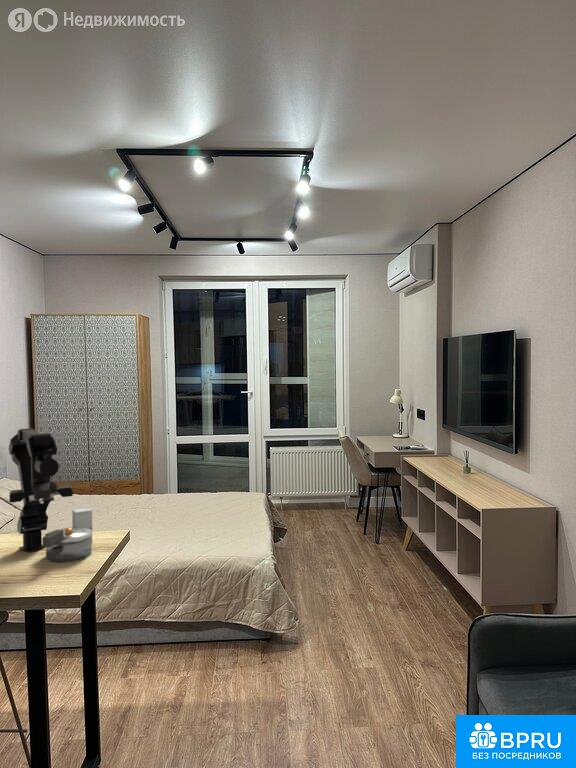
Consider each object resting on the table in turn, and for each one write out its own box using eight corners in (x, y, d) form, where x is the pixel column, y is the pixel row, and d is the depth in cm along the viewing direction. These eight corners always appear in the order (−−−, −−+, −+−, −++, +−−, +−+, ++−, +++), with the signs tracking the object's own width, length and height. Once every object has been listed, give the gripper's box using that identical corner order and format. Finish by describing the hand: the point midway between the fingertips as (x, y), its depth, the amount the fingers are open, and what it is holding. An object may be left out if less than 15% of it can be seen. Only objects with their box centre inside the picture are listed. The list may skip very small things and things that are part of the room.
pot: (59, 548, 198) (59, 530, 197) (98, 548, 196) (98, 531, 196) (28, 568, 178) (28, 549, 178) (71, 569, 177) (71, 550, 177)
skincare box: (75, 547, 199) (74, 512, 198) (72, 543, 202) (71, 509, 202) (93, 543, 202) (92, 509, 201) (90, 540, 206) (89, 507, 205)
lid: (58, 529, 198) (58, 518, 198) (99, 530, 196) (99, 519, 196) (24, 549, 177) (23, 537, 176) (69, 551, 175) (69, 538, 175)
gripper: (8, 479, 174) (10, 529, 175) (73, 473, 182) (74, 522, 183) (9, 473, 184) (10, 520, 185) (70, 468, 192) (71, 513, 193)
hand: (42, 519), depth 186 cm, fingers closed
